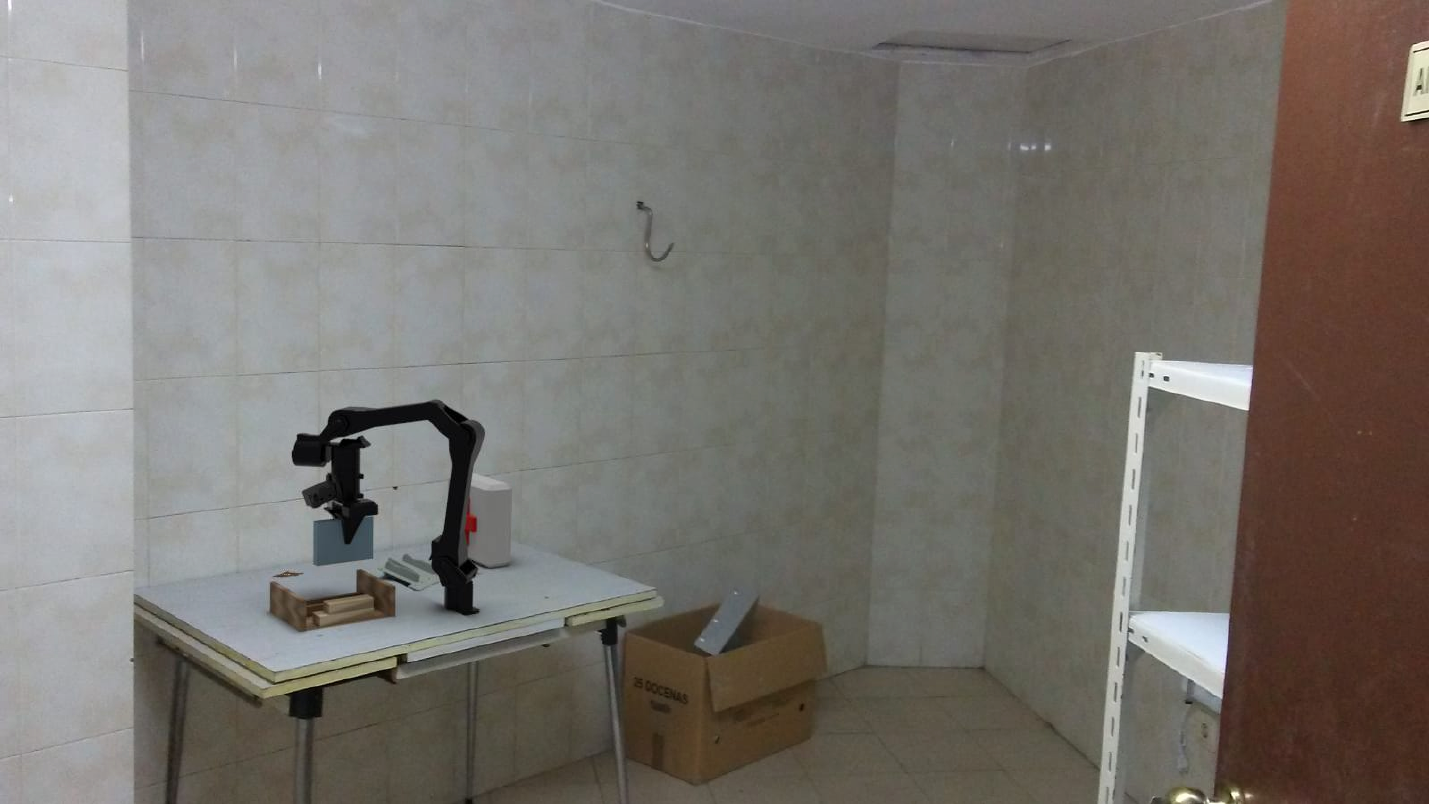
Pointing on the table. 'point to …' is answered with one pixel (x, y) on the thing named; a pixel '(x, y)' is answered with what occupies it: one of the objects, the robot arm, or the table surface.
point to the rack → (301, 610)
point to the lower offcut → (341, 617)
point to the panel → (341, 542)
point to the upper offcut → (348, 604)
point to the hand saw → (287, 574)
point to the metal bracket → (411, 572)
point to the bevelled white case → (488, 521)
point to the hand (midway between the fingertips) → (345, 543)
